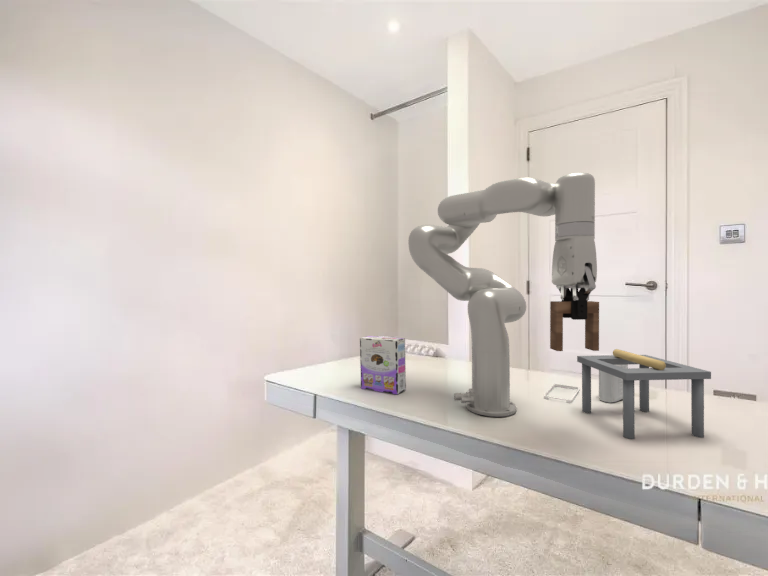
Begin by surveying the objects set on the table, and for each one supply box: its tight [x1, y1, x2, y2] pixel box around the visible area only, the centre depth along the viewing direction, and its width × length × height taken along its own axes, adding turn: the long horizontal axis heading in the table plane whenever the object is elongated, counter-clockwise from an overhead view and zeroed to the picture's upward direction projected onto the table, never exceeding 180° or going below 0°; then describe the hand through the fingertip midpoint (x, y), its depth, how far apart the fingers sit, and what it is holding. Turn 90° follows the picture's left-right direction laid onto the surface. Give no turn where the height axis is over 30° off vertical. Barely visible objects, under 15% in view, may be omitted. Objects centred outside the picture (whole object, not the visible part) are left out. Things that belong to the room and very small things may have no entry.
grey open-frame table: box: [576, 348, 712, 440], centre depth 83 cm, size 18×18×16 cm
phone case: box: [543, 383, 581, 404], centre depth 105 cm, size 7×1×15 cm
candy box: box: [359, 335, 407, 395], centre depth 111 cm, size 14×6×16 cm, turn 58°
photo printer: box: [598, 364, 629, 404], centre depth 100 cm, size 10×4×12 cm, turn 123°
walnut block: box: [549, 300, 600, 352], centre depth 77 cm, size 3×9×10 cm, turn 91°
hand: (574, 317), depth 76 cm, fingers closed on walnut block, 3 cm apart
